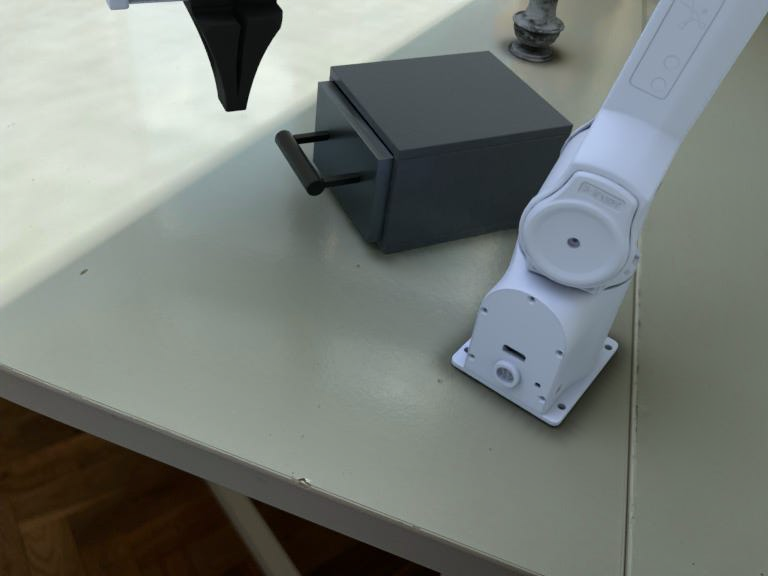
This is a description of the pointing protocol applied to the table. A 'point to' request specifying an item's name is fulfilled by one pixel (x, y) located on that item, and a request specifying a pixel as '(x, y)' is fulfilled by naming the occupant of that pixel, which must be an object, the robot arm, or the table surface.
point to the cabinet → (455, 143)
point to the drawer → (343, 160)
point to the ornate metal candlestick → (536, 31)
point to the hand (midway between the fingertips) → (232, 103)
